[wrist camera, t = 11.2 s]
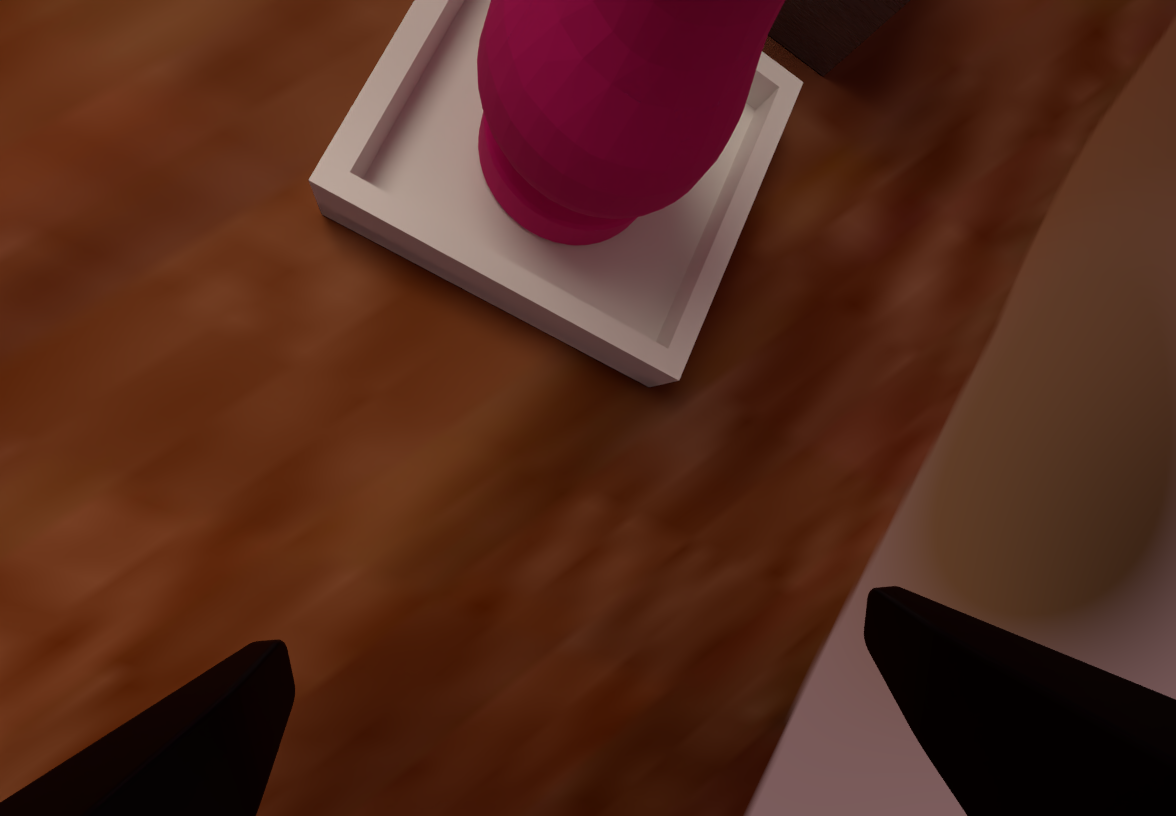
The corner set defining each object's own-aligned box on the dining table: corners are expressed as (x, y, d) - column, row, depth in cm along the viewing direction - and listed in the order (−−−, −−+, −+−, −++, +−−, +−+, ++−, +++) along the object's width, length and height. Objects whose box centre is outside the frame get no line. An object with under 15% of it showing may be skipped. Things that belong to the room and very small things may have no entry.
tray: (649, 387, 21) (678, 380, 19) (321, 213, 18) (308, 180, 16) (763, 118, 24) (803, 82, 21) (489, -78, 20) (500, -146, 18)
